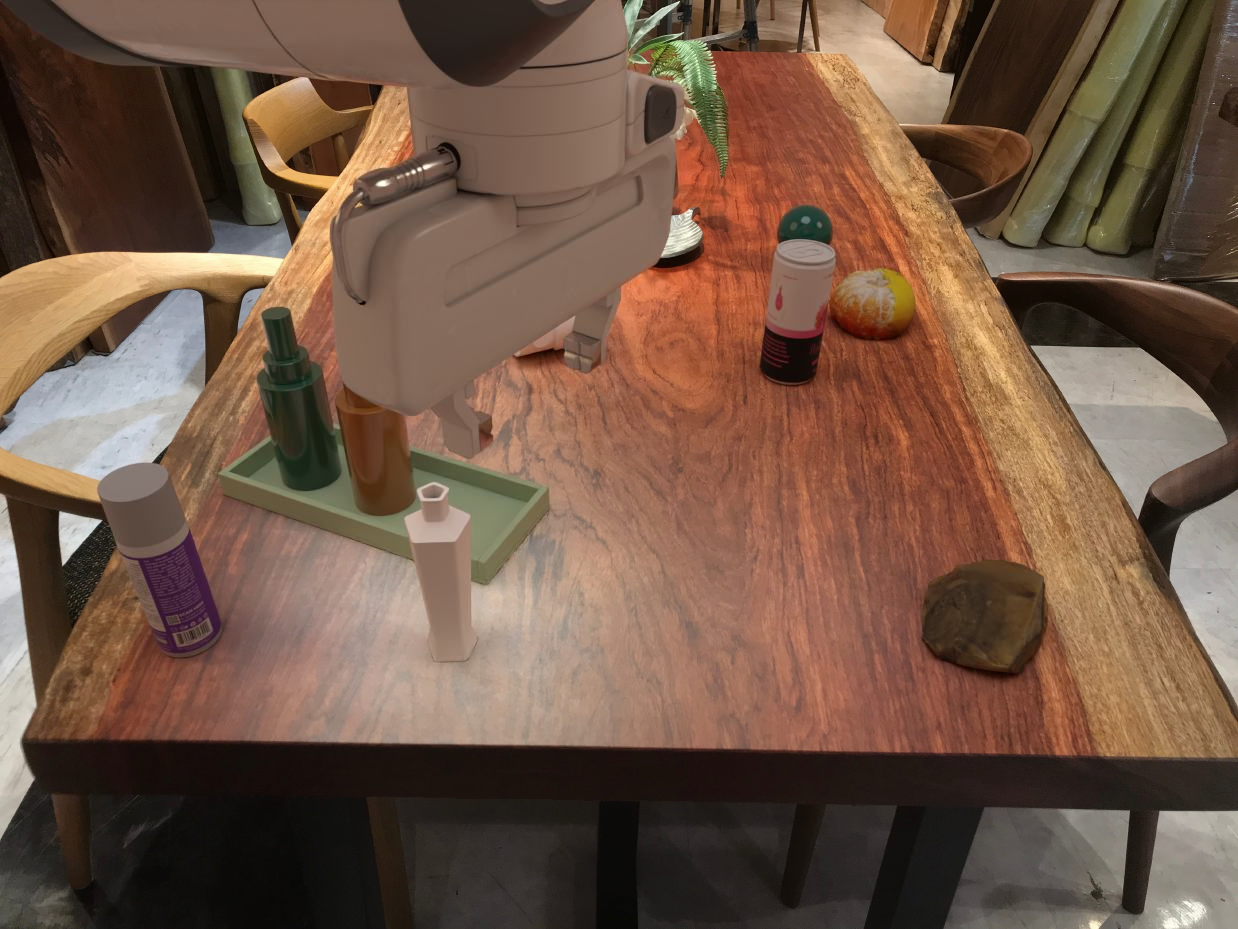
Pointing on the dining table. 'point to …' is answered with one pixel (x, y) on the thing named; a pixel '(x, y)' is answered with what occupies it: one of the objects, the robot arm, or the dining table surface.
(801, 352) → the beverage can
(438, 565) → the perfume bottle
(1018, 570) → the decorative stone
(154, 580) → the container
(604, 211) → the robot arm
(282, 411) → the bottle
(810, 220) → the sphere
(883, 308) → the fruit
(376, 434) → the bottle
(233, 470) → the tray
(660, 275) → the dining table surface
